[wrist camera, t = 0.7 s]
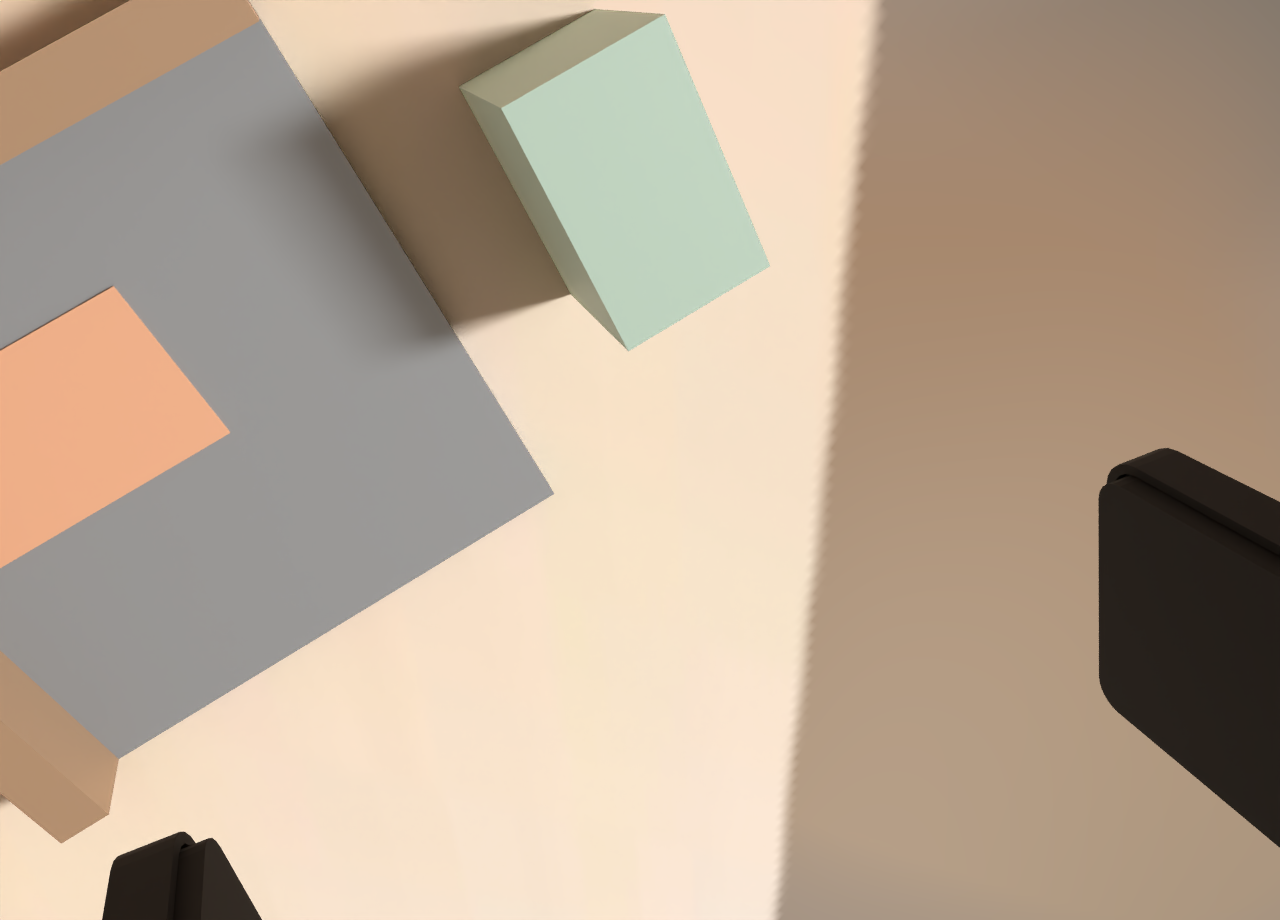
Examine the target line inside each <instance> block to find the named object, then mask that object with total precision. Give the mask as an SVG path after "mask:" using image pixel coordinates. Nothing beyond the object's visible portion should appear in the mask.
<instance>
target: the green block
mask: <svg viewBox="0 0 1280 920" xmlns="http://www.w3.org/2000/svg"><path fill="white" fill-rule="evenodd" d="M459 88H460V90H461V92H462V94H463V96H464V97H465V99H466V101H467V103H468V105H469V107H470V108H471V110H472V112H473V114H474V116H475V118H476V120H477V121H478V123H479V125H480V127H481V129H482V131H483V133H484V134H485V136H486V138H487V140H488V142H489V144H490V146H491V147H492V149H493V151H494V153H495V155H496V157H497V158H498V160H499V162H500V164H501V166H502V168H503V170H504V171H505V173H506V175H507V177H508V179H509V181H510V183H511V184H512V186H513V188H514V190H515V192H516V194H517V196H518V197H519V199H520V201H521V203H522V205H523V207H524V209H525V210H526V212H527V214H528V216H529V218H530V220H531V221H532V223H533V225H534V227H535V229H536V231H537V233H538V234H539V236H540V238H541V240H542V242H543V244H544V246H545V247H546V249H547V251H548V253H549V255H550V257H551V259H552V260H553V262H554V264H555V266H556V268H557V270H558V272H559V273H560V275H561V277H562V279H563V281H564V283H565V284H566V286H567V288H568V290H569V292H570V294H571V295H572V296H573V297H574V298H575V299H576V300H577V301H578V302H579V303H580V304H581V305H582V306H583V307H584V308H585V309H586V310H587V311H588V312H589V313H590V314H591V315H592V316H593V317H594V318H595V319H596V320H597V321H598V322H599V323H600V324H601V325H602V326H603V327H604V328H605V329H606V330H607V331H608V332H609V333H610V334H612V335H613V336H614V337H615V338H616V339H617V340H618V341H619V342H620V343H621V344H622V345H623V346H624V347H625V348H626V349H627V350H628V351H630V350H631V349H633V348H635V347H636V346H638V345H640V344H641V343H643V342H644V341H646V340H648V339H649V338H651V337H653V336H654V335H656V334H658V333H659V332H661V331H663V330H664V329H666V328H668V327H669V326H671V325H673V324H674V323H676V322H678V321H679V320H681V319H683V318H684V317H686V316H688V315H689V314H691V313H693V312H694V311H696V310H698V309H699V308H701V307H703V306H704V305H706V304H708V303H709V302H711V301H713V300H714V299H716V298H718V297H719V296H721V295H723V294H724V293H726V292H728V291H729V290H731V289H733V288H734V287H736V286H738V285H739V284H741V283H743V282H744V281H746V280H748V279H749V278H751V277H753V276H754V275H756V274H758V273H759V272H761V271H763V270H764V269H766V268H768V267H769V266H770V264H769V262H768V260H767V257H766V255H765V252H764V250H763V248H762V245H761V243H760V241H759V238H758V236H757V233H756V231H755V229H754V226H753V224H752V221H751V219H750V217H749V214H748V212H747V209H746V207H745V205H744V202H743V200H742V197H741V195H740V193H739V190H738V188H737V186H736V183H735V181H734V178H733V176H732V174H731V171H730V169H729V166H728V164H727V162H726V159H725V157H724V154H723V152H722V150H721V147H720V145H719V143H718V140H717V138H716V135H715V133H714V131H713V128H712V126H711V123H710V121H709V119H708V116H707V114H706V111H705V109H704V107H703V104H702V102H701V99H700V97H699V95H698V92H697V90H696V88H695V85H694V83H693V80H692V78H691V76H690V73H689V71H688V68H687V66H686V64H685V61H684V59H683V56H682V54H681V52H680V49H679V47H678V44H677V42H676V40H675V37H674V35H673V33H672V30H671V28H670V25H669V23H668V21H667V18H666V16H665V14H655V13H641V12H627V11H613V10H600V9H594V10H592V11H591V12H589V13H587V14H585V15H584V16H582V17H580V18H578V19H577V20H575V21H573V22H571V23H570V24H568V25H566V26H564V27H563V28H561V29H559V30H557V31H556V32H554V33H552V34H550V35H549V36H547V37H545V38H543V39H542V40H540V41H538V42H536V43H535V44H533V45H531V46H529V47H528V48H526V49H524V50H522V51H521V52H519V53H517V54H515V55H514V56H512V57H510V58H508V59H507V60H505V61H503V62H501V63H499V64H498V65H496V66H494V67H492V68H491V69H489V70H487V71H485V72H484V73H482V74H480V75H478V76H477V77H475V78H473V79H471V80H470V81H468V82H466V83H464V84H463V85H461V86H459Z"/></svg>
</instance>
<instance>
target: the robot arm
mask: <svg viewBox="0 0 1280 920" xmlns="http://www.w3.org/2000/svg"><path fill="white" fill-rule="evenodd" d="M1099 679H1100V684H1101V688H1102V690H1103V693H1104V695H1105V696H1106V698H1107V700H1108V701H1109V703H1110V704H1111V705H1112V706H1113V707H1114V709H1115V710H1116V711H1117V712H1118V713H1120V714H1121V715H1122V716H1123V717H1124V718H1126V719H1127V720H1128V721H1129V722H1130V723H1131V724H1133V725H1134V726H1135V727H1136V728H1137V729H1139V730H1140V731H1141V732H1142V733H1143V734H1145V735H1146V736H1147V737H1148V738H1149V739H1151V740H1152V741H1153V742H1154V743H1156V744H1157V745H1158V746H1159V747H1160V748H1161V749H1163V750H1164V751H1165V752H1166V753H1167V754H1169V755H1170V756H1171V757H1172V758H1173V759H1175V760H1176V761H1177V762H1178V763H1179V764H1181V765H1182V766H1183V767H1184V768H1185V769H1186V770H1188V771H1189V772H1190V773H1191V774H1192V775H1194V776H1195V777H1196V778H1197V779H1199V780H1200V781H1201V782H1202V783H1203V784H1204V785H1206V786H1207V787H1208V788H1209V789H1210V790H1212V791H1213V792H1214V793H1215V794H1217V795H1218V796H1219V797H1220V798H1221V799H1222V800H1223V801H1225V802H1226V803H1227V804H1228V805H1229V806H1231V807H1232V808H1233V809H1234V810H1236V811H1237V812H1238V813H1239V814H1240V815H1241V816H1243V817H1244V818H1245V819H1246V820H1247V821H1249V822H1250V823H1251V824H1252V825H1253V826H1255V827H1256V828H1257V829H1258V830H1259V831H1261V832H1262V833H1263V834H1264V835H1265V836H1267V837H1268V838H1269V839H1270V840H1271V841H1272V842H1274V843H1275V844H1276V845H1277V846H1278V847H1280V502H1279V501H1277V500H1275V499H1273V498H1271V497H1269V496H1266V495H1265V494H1263V493H1261V492H1259V491H1256V490H1255V489H1253V488H1250V487H1249V486H1247V485H1244V484H1243V483H1240V482H1238V481H1237V480H1234V479H1232V478H1230V477H1228V476H1226V475H1224V474H1222V473H1220V472H1218V471H1216V470H1214V469H1212V468H1210V467H1208V466H1206V465H1204V464H1202V463H1200V462H1198V461H1196V460H1194V459H1192V458H1190V457H1188V456H1186V455H1184V454H1182V453H1180V452H1178V451H1175V450H1172V449H1169V448H1163V449H1158V450H1155V451H1153V452H1150V453H1147V454H1145V455H1142V456H1140V457H1137V458H1135V459H1132V460H1129V461H1127V462H1125V463H1122V464H1119V465H1118V466H1116V467H1114V468H1113V469H1112V470H1111V471H1110V473H1109V475H1108V479H1107V484H1106V485H1105V486H1103V487H1102V489H1101V491H1100V494H1099ZM102 920H262V919H261V917H260V916H259V914H258V912H257V910H256V909H255V907H254V905H253V903H252V902H251V900H250V898H249V896H248V895H247V893H246V891H245V889H244V888H243V886H242V884H241V882H240V881H239V879H238V877H237V875H236V874H235V872H234V870H233V868H232V867H231V865H230V863H229V861H228V860H227V858H226V856H225V854H224V853H223V851H222V849H221V847H220V846H219V845H218V843H217V842H216V841H215V840H214V839H213V838H208V839H206V840H203V841H201V842H198V843H195V842H194V840H193V839H192V838H191V836H190V835H188V834H187V833H186V832H178V833H176V834H173V835H171V836H168V837H166V838H163V839H160V840H158V841H155V842H153V843H150V844H148V845H145V846H143V847H140V848H137V849H135V850H132V851H130V852H127V853H125V854H122V855H120V856H118V857H117V858H116V859H115V860H114V861H113V864H112V867H111V871H110V877H109V883H108V888H107V894H106V900H105V906H104V912H103V918H102Z"/></svg>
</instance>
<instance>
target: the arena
mask: <svg viewBox="0 0 1280 920" xmlns="http://www.w3.org/2000/svg"><path fill="white" fill-rule="evenodd" d="M553 494H554V493H553V491H552V489H551V487H550V486H549V484H548V483H547V481H546V479H545V478H544V476H543V475H542V473H541V471H540V470H539V468H538V466H537V465H536V463H535V462H534V460H533V458H532V457H531V455H530V454H529V452H528V450H527V449H526V447H525V445H524V444H523V442H522V441H521V439H520V437H519V436H518V434H517V433H516V431H515V429H514V428H513V426H512V425H511V423H510V421H509V420H508V418H507V416H506V415H505V413H504V412H503V410H502V408H501V407H500V405H499V404H498V402H497V400H496V399H495V397H494V395H493V394H492V392H491V391H490V389H489V387H488V386H487V384H486V383H485V381H484V379H483V378H482V376H481V375H480V373H479V371H478V370H477V368H476V366H475V365H474V363H473V362H472V360H471V358H470V357H469V355H468V354H467V352H466V350H465V349H464V347H463V345H462V344H461V342H460V341H459V339H458V337H457V336H456V334H455V333H454V331H453V329H452V328H451V326H450V325H449V323H448V321H447V320H446V318H445V316H444V315H443V313H442V312H441V310H440V308H439V307H438V305H437V304H436V302H435V300H434V299H433V297H432V295H431V294H430V292H429V291H428V289H427V287H426V286H425V284H424V283H423V281H422V279H421V278H420V276H419V275H418V273H417V271H416V270H415V268H414V266H413V265H412V263H411V262H410V260H409V258H408V257H407V255H406V254H405V252H404V250H403V249H402V247H401V246H400V244H399V242H398V241H397V239H396V237H395V236H394V234H393V233H392V231H391V229H390V228H389V226H388V225H387V223H386V221H385V220H384V218H383V216H382V215H381V213H380V212H379V210H378V208H377V207H376V205H375V204H374V202H373V200H372V199H371V197H370V196H369V194H368V192H367V191H366V189H365V187H364V186H363V184H362V183H361V181H360V179H359V178H358V176H357V175H356V173H355V171H354V170H353V168H352V166H351V165H350V163H349V162H348V160H347V158H346V157H345V155H344V154H343V152H342V150H341V149H340V147H339V146H338V144H337V142H336V141H335V139H334V137H333V136H332V134H331V133H330V131H329V129H328V128H327V126H326V125H325V123H324V121H323V120H322V118H321V116H320V115H319V113H318V112H317V110H316V108H315V107H314V105H313V104H312V102H311V100H310V99H309V97H308V96H307V94H306V92H305V91H304V89H303V87H302V86H301V84H300V83H299V81H298V79H297V78H296V76H295V75H294V73H293V71H292V70H291V68H290V66H289V65H288V63H287V62H286V60H285V58H284V57H283V55H282V54H281V52H280V50H279V49H278V47H277V46H276V44H275V42H274V41H273V39H272V37H271V36H270V34H269V33H268V31H267V29H266V28H265V26H264V25H263V23H262V21H261V20H260V18H259V16H258V15H257V13H256V12H255V10H254V8H253V7H252V5H251V4H250V2H249V0H130V1H128V2H126V3H124V4H122V5H120V6H119V7H117V8H115V9H113V10H111V11H109V12H108V13H106V14H104V15H102V16H100V17H98V18H97V19H95V20H93V21H91V22H89V23H88V24H86V25H84V26H82V27H80V28H78V29H77V30H75V31H73V32H71V33H69V34H67V35H66V36H64V37H62V38H60V39H58V40H57V41H55V42H53V43H51V44H49V45H47V46H46V47H44V48H42V49H40V50H38V51H36V52H35V53H33V54H31V55H29V56H27V57H25V58H24V59H22V60H20V61H18V62H16V63H15V64H13V65H11V66H9V67H7V68H5V69H4V70H2V71H0V794H2V795H3V796H4V797H5V798H7V799H8V800H9V801H10V802H11V803H13V804H14V805H15V806H16V807H17V808H19V809H20V810H21V811H22V812H24V813H25V814H26V815H27V816H28V817H30V818H31V819H32V820H33V821H34V822H36V823H37V824H38V825H39V826H41V827H42V828H43V829H44V830H45V831H47V832H48V833H49V834H50V835H51V836H53V837H54V838H55V839H56V840H58V841H59V842H60V843H63V842H65V841H66V840H68V839H69V838H71V837H73V836H74V835H76V834H78V833H79V832H81V831H82V830H84V829H86V828H87V827H89V826H91V825H92V824H94V823H95V822H97V821H99V820H100V819H102V818H104V817H105V816H107V815H109V810H110V804H111V799H112V793H113V788H114V782H115V776H116V771H117V765H118V760H119V758H121V757H123V756H124V755H126V754H128V753H129V752H131V751H133V750H134V749H136V748H138V747H139V746H141V745H142V744H144V743H146V742H147V741H149V740H151V739H152V738H154V737H156V736H157V735H159V734H161V733H162V732H164V731H165V730H167V729H169V728H170V727H172V726H174V725H175V724H177V723H179V722H180V721H182V720H184V719H185V718H187V717H188V716H190V715H192V714H193V713H195V712H197V711H198V710H200V709H202V708H203V707H205V706H206V705H208V704H210V703H211V702H213V701H215V700H216V699H218V698H220V697H221V696H223V695H225V694H226V693H228V692H229V691H231V690H233V689H234V688H236V687H238V686H239V685H241V684H243V683H244V682H246V681H248V680H249V679H251V678H252V677H254V676H256V675H257V674H259V673H261V672H262V671H264V670H266V669H267V668H269V667H271V666H272V665H274V664H275V663H277V662H279V661H280V660H282V659H284V658H285V657H287V656H289V655H290V654H292V653H294V652H295V651H297V650H298V649H300V648H302V647H303V646H305V645H307V644H308V643H310V642H312V641H313V640H315V639H317V638H318V637H320V636H321V635H323V634H325V633H326V632H328V631H330V630H331V629H333V628H335V627H336V626H338V625H339V624H341V623H343V622H344V621H346V620H348V619H349V618H351V617H353V616H354V615H356V614H358V613H359V612H361V611H362V610H364V609H366V608H367V607H369V606H371V605H372V604H374V603H376V602H377V601H379V600H381V599H382V598H384V597H385V596H387V595H389V594H390V593H392V592H394V591H395V590H397V589H399V588H400V587H402V586H404V585H405V584H407V583H408V582H410V581H412V580H413V579H415V578H417V577H418V576H420V575H422V574H423V573H425V572H427V571H428V570H430V569H431V568H433V567H435V566H436V565H438V564H440V563H441V562H443V561H445V560H446V559H448V558H450V557H451V556H453V555H454V554H456V553H458V552H459V551H461V550H463V549H464V548H466V547H468V546H469V545H471V544H472V543H474V542H476V541H477V540H479V539H481V538H482V537H484V536H486V535H487V534H489V533H491V532H492V531H494V530H495V529H497V528H499V527H500V526H502V525H504V524H505V523H507V522H509V521H510V520H512V519H514V518H515V517H517V516H518V515H520V514H522V513H523V512H525V511H527V510H528V509H530V508H532V507H533V506H535V505H537V504H538V503H540V502H541V501H543V500H545V499H546V498H548V497H550V496H551V495H553Z"/></svg>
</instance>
